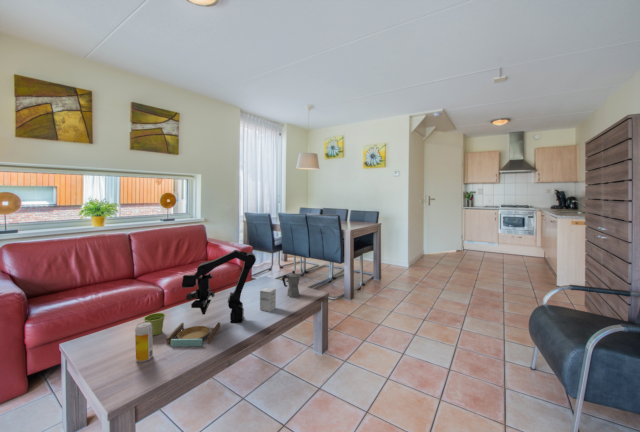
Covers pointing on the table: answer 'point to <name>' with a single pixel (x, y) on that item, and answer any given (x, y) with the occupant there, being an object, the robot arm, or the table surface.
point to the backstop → (186, 342)
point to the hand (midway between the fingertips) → (203, 314)
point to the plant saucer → (194, 332)
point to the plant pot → (155, 322)
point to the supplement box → (267, 299)
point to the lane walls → (183, 327)
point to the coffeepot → (292, 284)
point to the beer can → (143, 341)
